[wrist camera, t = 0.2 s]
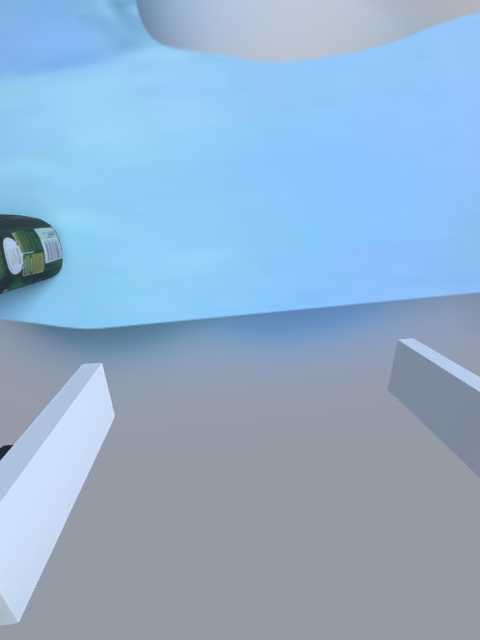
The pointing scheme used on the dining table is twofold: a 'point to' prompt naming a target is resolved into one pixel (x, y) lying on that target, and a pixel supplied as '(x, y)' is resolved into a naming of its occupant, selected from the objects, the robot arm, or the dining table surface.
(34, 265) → the coffee jar
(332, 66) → the dining table surface
